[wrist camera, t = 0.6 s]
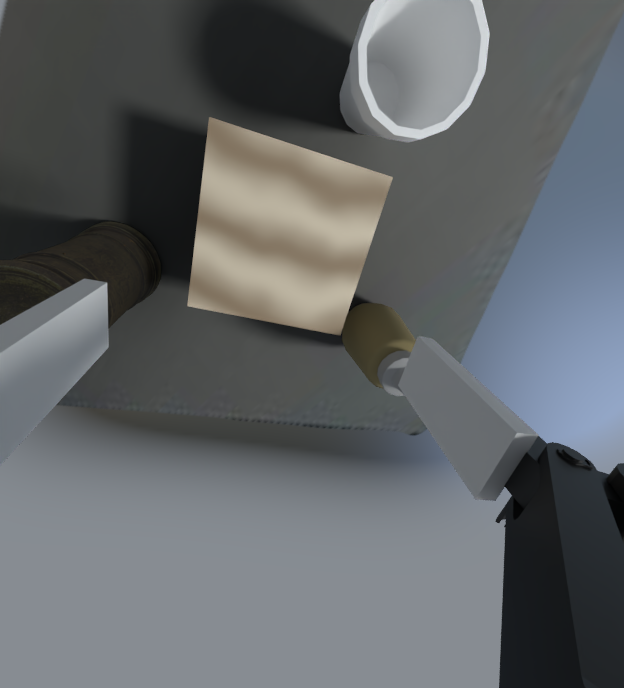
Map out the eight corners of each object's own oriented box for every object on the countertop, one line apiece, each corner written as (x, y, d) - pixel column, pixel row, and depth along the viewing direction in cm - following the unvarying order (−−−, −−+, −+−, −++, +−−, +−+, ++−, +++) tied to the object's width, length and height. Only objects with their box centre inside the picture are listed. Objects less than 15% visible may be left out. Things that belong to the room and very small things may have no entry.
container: (117, 204, 35) (-3, 226, 19) (179, 270, 39) (123, 334, 23) (59, 255, 37) (-96, 314, 21) (125, 314, 41) (38, 402, 25)
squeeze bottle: (394, 340, 48) (461, 421, 32) (340, 353, 47) (381, 442, 31) (390, 288, 44) (463, 350, 28) (331, 302, 44) (372, 373, 28)
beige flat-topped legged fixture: (221, 131, 34) (209, 116, 26) (364, 177, 37) (392, 177, 29) (202, 280, 40) (187, 306, 32) (325, 307, 44) (340, 335, 36)
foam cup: (338, 163, 36) (374, 156, 25) (312, 61, 32) (340, -5, 21) (419, 132, 36) (493, 111, 25) (403, 25, 32) (484, -62, 20)
